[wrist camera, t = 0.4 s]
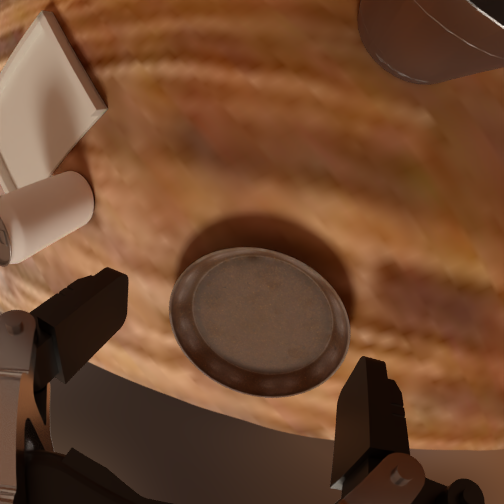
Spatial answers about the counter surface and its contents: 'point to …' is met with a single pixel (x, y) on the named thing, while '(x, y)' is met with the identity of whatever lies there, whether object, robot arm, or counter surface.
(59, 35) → the tray
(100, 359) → the counter surface
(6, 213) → the can
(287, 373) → the plant saucer
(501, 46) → the robot arm
